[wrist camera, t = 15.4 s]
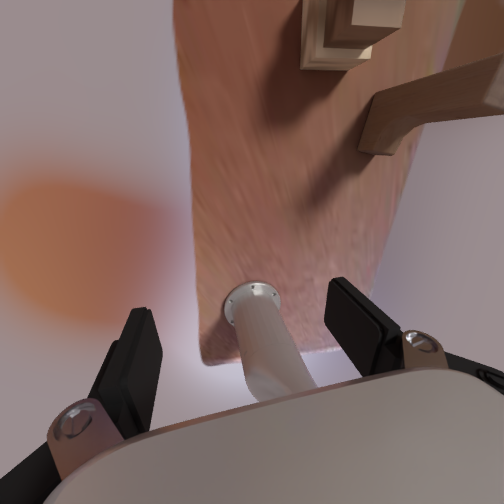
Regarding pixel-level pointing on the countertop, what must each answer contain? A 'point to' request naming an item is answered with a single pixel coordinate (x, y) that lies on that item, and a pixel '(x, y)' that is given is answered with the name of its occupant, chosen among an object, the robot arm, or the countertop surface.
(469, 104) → the wooden block
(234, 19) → the countertop surface
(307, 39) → the oak block
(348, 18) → the walnut cube
